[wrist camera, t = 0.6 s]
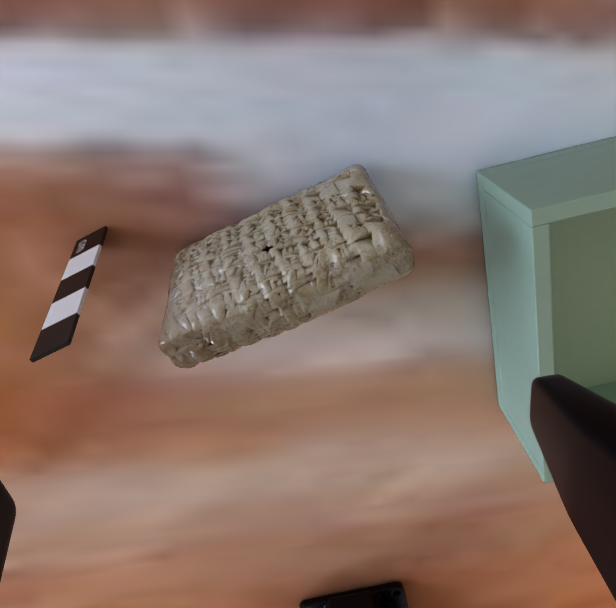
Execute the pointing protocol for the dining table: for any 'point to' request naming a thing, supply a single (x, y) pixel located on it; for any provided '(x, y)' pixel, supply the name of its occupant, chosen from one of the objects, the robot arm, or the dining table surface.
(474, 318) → the dining table surface
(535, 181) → the bin
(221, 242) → the cuneiform tablet
